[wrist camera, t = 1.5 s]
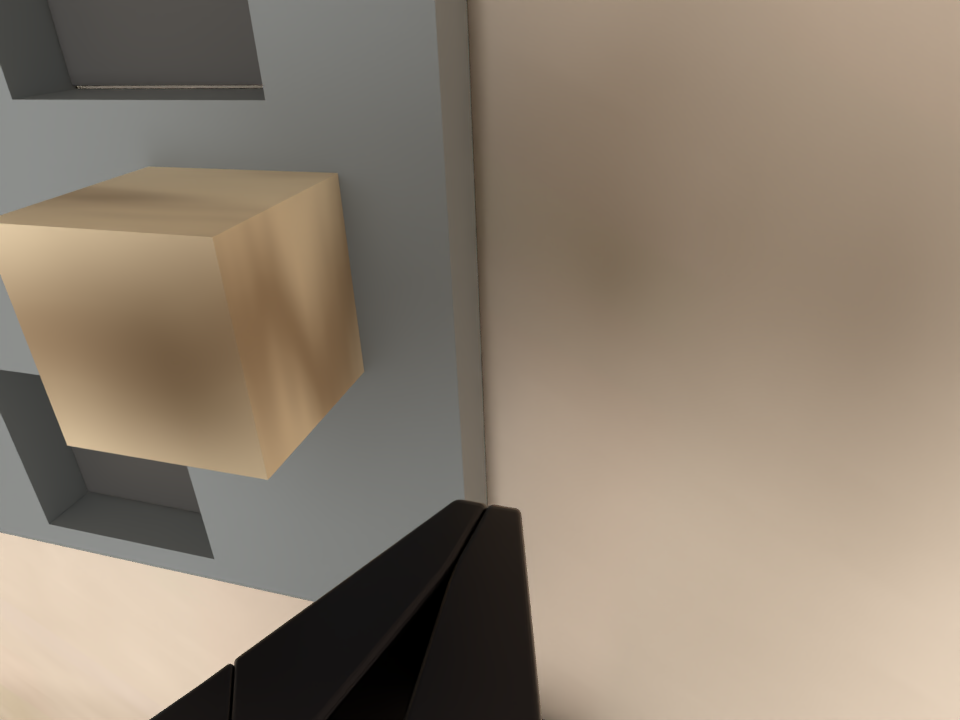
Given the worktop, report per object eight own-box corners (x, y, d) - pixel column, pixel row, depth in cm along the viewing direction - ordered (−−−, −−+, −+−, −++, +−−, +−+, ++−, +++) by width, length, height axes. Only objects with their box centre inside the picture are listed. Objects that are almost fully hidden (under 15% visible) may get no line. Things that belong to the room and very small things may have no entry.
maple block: (364, 371, 17) (268, 480, 14) (197, 351, 19) (67, 445, 15) (337, 173, 15) (212, 237, 11) (148, 166, 16) (-21, 222, 13)
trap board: (452, -379, 12) (365, -498, 9) (490, 588, 23) (457, 678, 20) (-359, -222, 18) (-572, -263, 15) (-19, 486, 29) (-102, 544, 26)
